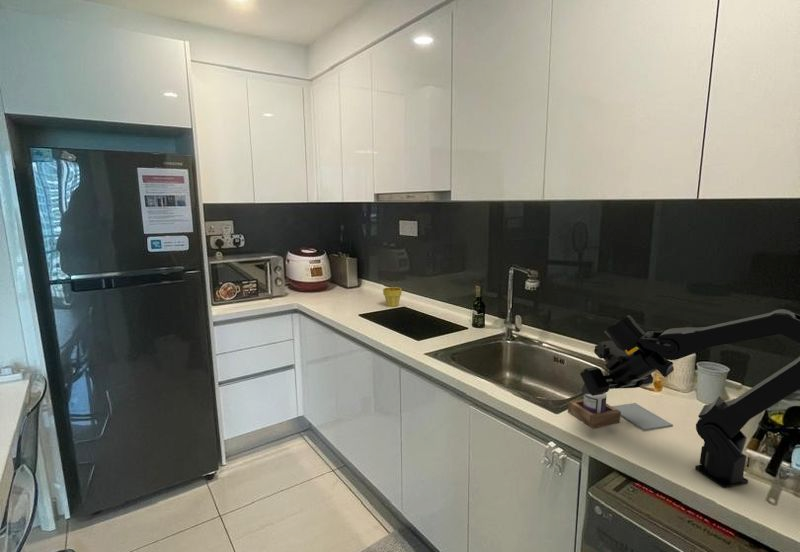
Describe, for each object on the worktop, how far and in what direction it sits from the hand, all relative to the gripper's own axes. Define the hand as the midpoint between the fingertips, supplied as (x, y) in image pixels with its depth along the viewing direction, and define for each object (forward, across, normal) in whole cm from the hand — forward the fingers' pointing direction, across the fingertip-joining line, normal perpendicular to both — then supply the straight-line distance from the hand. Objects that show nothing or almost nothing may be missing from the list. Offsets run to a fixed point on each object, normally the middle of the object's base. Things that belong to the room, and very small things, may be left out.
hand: (596, 389), depth 106 cm
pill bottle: (+6, 0, +6) cm, 8 cm away
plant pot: (+102, +12, -89) cm, 136 cm away
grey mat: (+3, -12, +8) cm, 15 cm away
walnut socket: (+6, 0, +6) cm, 8 cm away
